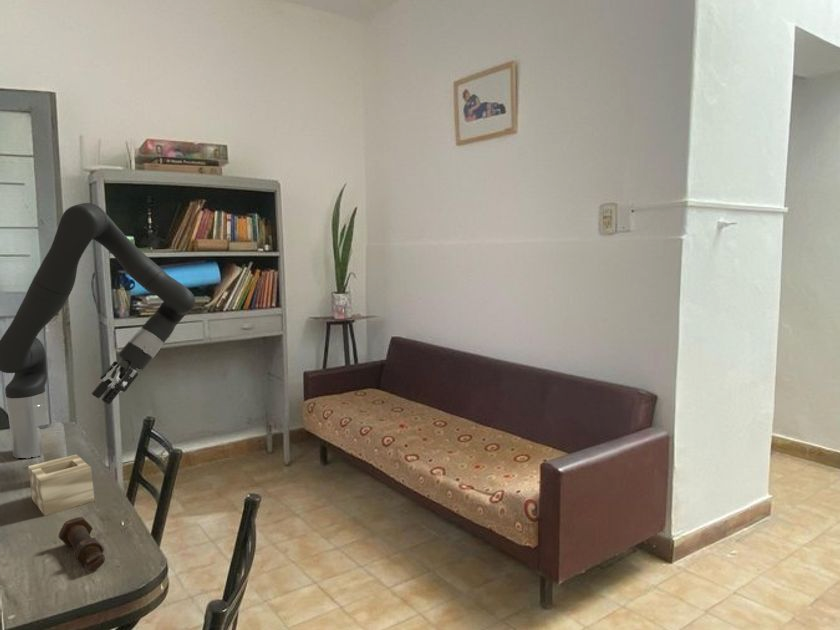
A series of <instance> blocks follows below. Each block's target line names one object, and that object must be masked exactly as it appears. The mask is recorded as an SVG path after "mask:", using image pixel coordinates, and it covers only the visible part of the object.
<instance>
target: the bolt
mask: <svg viewBox="0 0 840 630" xmlns="http://www.w3.org/2000/svg"><path fill="white" fill-rule="evenodd" d="M92 530H93V527H92V525H91V524H90V523H89V522H88V521H87V520H86V519H85V518H84V517H83V516H80V517H75V518H72V519H68V520H66V521H64V523H63V525H62V527H61V529H60V530H59V533H58V539H60V540H61V542H63V543H64V544H65V545H66V546H67V547H68V548H70V547H73V549H74V553H73V558H74V559H75V561H77V563H78V564H80V565H81V566H82V567H85V568H86V569H87V570H91V571H92V570H93V571H94V570H97V569H99V568H101V566H102V565H103V564H104V563H105V561H106V560H105V559H106V557H105V555H104V551H105V547H104V546H103V544H101V543H100V541H99V540H97V538H95V537H93V538H92V537H91V533H92Z"/></svg>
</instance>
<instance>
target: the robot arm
mask: <svg viewBox="0 0 840 630" xmlns="http://www.w3.org/2000/svg"><path fill="white" fill-rule="evenodd" d="M92 240H94V241H95V242H97V243H98V244H100V245H101V246H103V247H104V248H105V249H106V250H107V251H108V252H109V253H110V254H112V255H113V256H114V258H115V259H116V260H117V262H118V263H119V265H120V266H121V267H122V268H123V269H124V271H125V272H126V273H127V274H128V275H129V276H130V278H132V279H133V280H134V281H135V282H136V283H137V284H138V285H140V286H141V287H142V288H143V289H144V290H145V291H147V292H148V293H150V294H152V295H156V296H157V297H158V298H159V299H160V300H161V301H162V303H161V305H160V306H159V307H158V309H157V310H156V311H155V313H154V314H152V315H151V316H150V317H149V318H148V319H147V320H146V322H145V323H144V324H143V325H142V326H141V328H140V329H139V330H138V331H137V332H136V333H135V334H134V335H133V336H132V337H131V338H130V339H129V341H127V343H126V344H125V345H124V346H123V347H122V348H121V350H120V351H119V352H118V355H117V356H118V357H119V358H120V359H121V361H119V362H118V361H116V360H115V361H113V363H112V364H111V365H110V366H109V367H108V368H107V369H106V370H105V371H104V372H103V374H102V375H101V376H100V383H99V384H98V385H97V386H96V387H95V388H94V390H93V391H92V393H91V395H92V396H94V397H96V399H100V398H101V397H102V396H103V397H102V398H101V401H102V402H104V404H107V405H110V404H111V403H112V402H113V401H114V399H116V397H117V396H118V395H119V394H121V393H122V392H123V393H125V392H126V391H127V390H128V388H129V387H130V386H131V385H132V383H134V382H135V380H136V378H137V377H138V376H139V374H140V372H138V371H144V370H145V368H146V367H147V366H148V364H150V362H151V361H152V360H153V359H154V358H155V356H156V355H157V353H159V351H160V349H161V348H162V346H163V345H164V343H165V342H166V341H167V339H168V338H169V337H170V336H171V335H172V334H173V332H174V330H175V328H176V326H178V324H179V323H180V322H181V321H182V319H183V318H184V317H185V316H186V315H187V314H188V313H189V312H190V311H192V310H193V309H194V307H195V304H196V298H195V295H194V294H193V292H192V291H191V290H190V289H189V288H188V287H186V286H185V285H184V284H182V283H181V282H179V281H178V280H177V279H175V278H174V277H171V276H170V275H169V274H167V272H166V271H165V270H163V268H161V267H160V266H159V265H158V264H157V263H155V262H154V261H153V260H152V259H151V258H149V257H148V255H146V254H145V253H144V252H143V251H142V250H141V249H140V248H139V247H137V246H136V245H135V244H134V243H133V242H132V241H131V240H130V239H129V237H127V236H126V235H125V234H124V232H123V231H122V230H121V229H120V228H119V227H118V226H117V224H116V223H115V222H114V221H113V220H112V219H111V218H110V216H109V215H108V214H107V213H106V211H104V209H103V208H102V207H100V206H99V205H97V204H96V203H92V202H81V203H78V204H75V205H72V206H70V207H67V209H66V210H65V211H64V212H63V213H62V216H61V218H60V220H59V223H58V226H57V229H56V232H55V234H54V238H53V241H52V244H51V245H50V248H49V250H48V252H47V253H46V255H45V257H44V258H43V260H42V262H41V264H40V265H39V267H38V270H37V271H36V273H35V275H34V277H33V278H32V281H31V282H30V285H29V287H28V288H27V291H26V294H25V296H24V298H23V300H22V302H21V304H20V306H18V307H19V308H18V309H17V311H16V314H15V315H14V318H13V320H12V321H11V323H10V324H9V326H8V328H7V329H6V330H5V332H4V334H2V335H3V336H2V337H1V339H0V372H1V373H6V374H14V375H13V377H12V379H11V380H10V381H9V383H8V384H7V385H6V386H5V389H4V392H5V399H6V400H5V402H6V408H7V414H8V422H9V423H8V424H9V431H10V440H11V448H12V455H13V456H14V457H15V458H14V457H13V458H14V459H18V458H26V459H31V457H33V458H37V457H41V456H40V447H39V439H38V430H37V426H41V425H46V424H50V420H49V418H50V417H49V411H48V409H49V408H48V402H47V395H46V394H47V393H46V384H47V380H48V372H47V371H48V369H47V367H48V365H47V354H46V350H45V347H44V344H43V343H42V341H41V340H40V339H39V338H38V335H39V333H40V332H41V331H42V329H44V328H45V326H46V325H47V324H49V322H50V321H52V320H53V319H54V318H55V317H56V316H57V314H59V313H60V311H62V309H63V308H64V306H65V304H66V303H67V300H68V299H69V297H70V294H71V293H72V291H73V288H74V287H75V283H76V279H77V273H78V265H79V263H80V260H81V257H82V256H83V254H84V253H85V251H86V249H87V247H88V246H89V244H90V243H91V242H92ZM137 370H138V371H137ZM110 386H111V387H110ZM109 387H110V389H109ZM108 389H109V390H108ZM107 390H108V391H107ZM106 391H107V392H106ZM105 392H106V393H105ZM104 393H105V395H104Z"/></svg>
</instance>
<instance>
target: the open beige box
mask: <svg viewBox="0 0 840 630" xmlns="http://www.w3.org/2000/svg"><path fill="white" fill-rule="evenodd" d="M28 476H29V485H30V492H31V500H32V501H33V502H34V504H35V505H36V506H37V508H38V509H39V510H40V511H41V513H42V515H43V516H44V517H46V516H49V515H53V514H56V513H59V512H62V511H65V510H69V509H72V508H75V507H78V506H79V507H80V506H81V505H86V504H89V503H92V502H95V492H94V491H95V490H94V484H93V483H94V481H93V471H92V467H91V466H90V465H89V464H88V463H87V462H86V461H85V460H83V459H82V458H81V457H80V456H79V455H78V454H73V455H67V457H64V458H60V459H56V460H52V461H48V462H44V463H41V462H40V463H36V464H35V463H34V464H32V465H28Z"/></svg>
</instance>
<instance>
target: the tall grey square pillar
mask: <svg viewBox="0 0 840 630" xmlns="http://www.w3.org/2000/svg"><path fill="white" fill-rule="evenodd" d="M37 430H38V439H39V447H40V456H39V457H40V461H41V462H40V463H44V462H48V461H52V460H56V459H60V458H64V457H68V452H67V451H68V450H67V442H66V435H65V427H64V423H62V422H61V421H57V422H56V421H55V422H51V423H49V424H46V425H41V426H37Z"/></svg>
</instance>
